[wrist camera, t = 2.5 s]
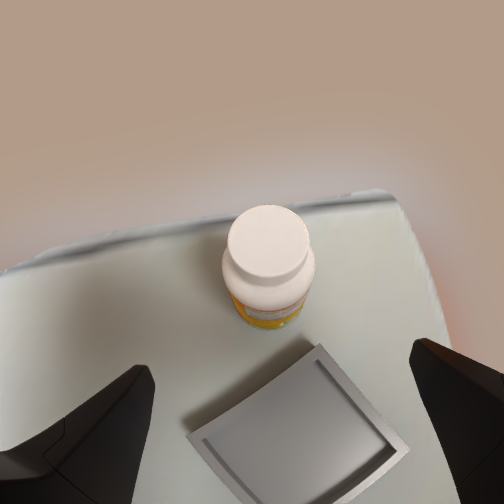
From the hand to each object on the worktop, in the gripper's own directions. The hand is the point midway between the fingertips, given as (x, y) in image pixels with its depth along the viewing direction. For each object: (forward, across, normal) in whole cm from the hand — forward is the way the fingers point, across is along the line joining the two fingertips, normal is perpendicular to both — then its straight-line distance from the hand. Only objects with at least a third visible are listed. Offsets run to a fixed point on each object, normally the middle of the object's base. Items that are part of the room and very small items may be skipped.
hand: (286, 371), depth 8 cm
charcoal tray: (+4, -2, +13) cm, 14 cm away
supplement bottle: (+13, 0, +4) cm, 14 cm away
